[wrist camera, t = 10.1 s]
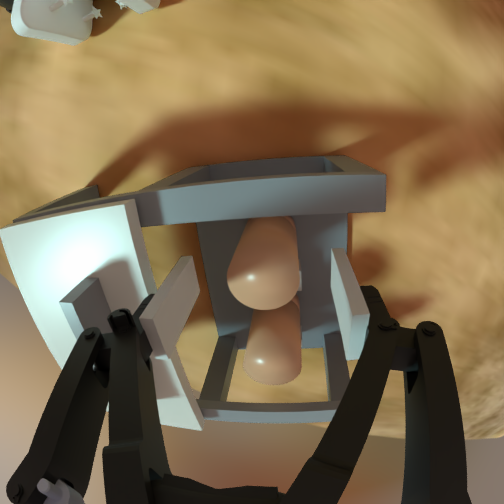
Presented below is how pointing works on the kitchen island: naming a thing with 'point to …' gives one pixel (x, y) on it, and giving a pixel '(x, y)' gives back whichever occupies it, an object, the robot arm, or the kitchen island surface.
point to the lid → (93, 287)
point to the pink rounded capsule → (265, 263)
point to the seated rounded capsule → (274, 345)
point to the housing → (225, 243)
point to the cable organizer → (64, 18)
